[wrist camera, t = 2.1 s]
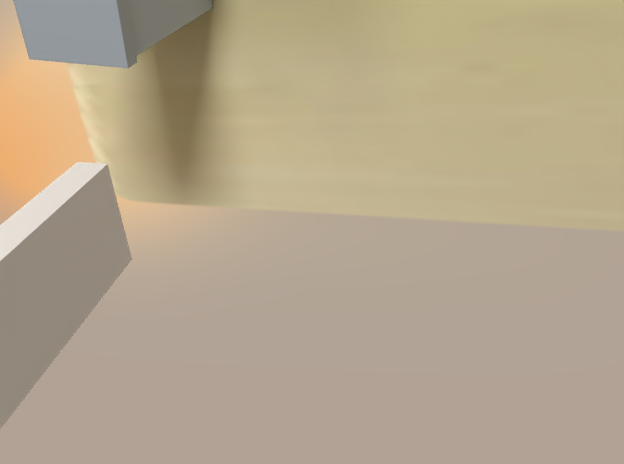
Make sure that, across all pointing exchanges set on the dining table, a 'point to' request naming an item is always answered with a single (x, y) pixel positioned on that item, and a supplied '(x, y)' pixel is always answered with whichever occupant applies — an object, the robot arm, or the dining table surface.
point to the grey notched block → (101, 28)
